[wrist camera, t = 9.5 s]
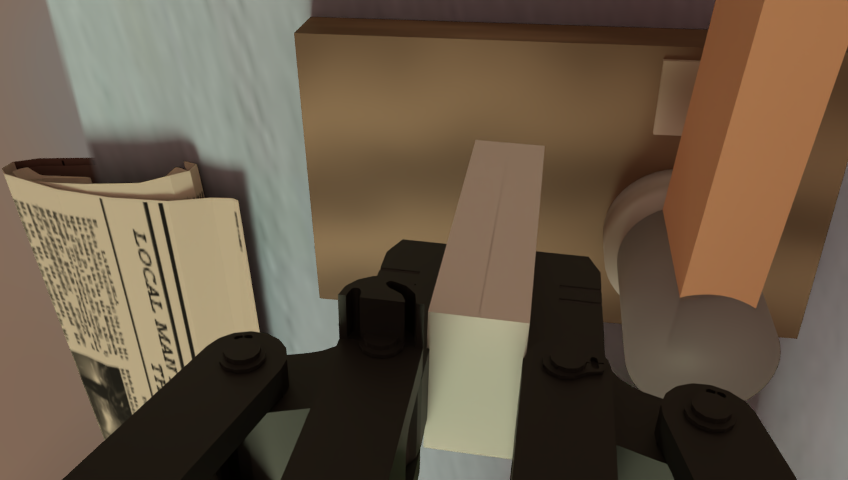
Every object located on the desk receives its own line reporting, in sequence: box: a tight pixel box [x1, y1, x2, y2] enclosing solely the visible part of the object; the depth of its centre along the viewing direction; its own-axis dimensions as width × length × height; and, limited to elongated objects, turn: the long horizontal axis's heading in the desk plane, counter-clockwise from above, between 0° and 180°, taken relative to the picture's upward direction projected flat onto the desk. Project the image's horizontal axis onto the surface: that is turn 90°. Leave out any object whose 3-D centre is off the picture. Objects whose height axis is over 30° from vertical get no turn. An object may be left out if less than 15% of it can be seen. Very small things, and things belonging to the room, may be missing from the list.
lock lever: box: [617, 0, 848, 401], centre depth 27 cm, size 5×14×6 cm, turn 176°
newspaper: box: [2, 158, 260, 440], centre depth 47 cm, size 35×12×4 cm, turn 4°
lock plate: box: [294, 17, 848, 339], centre depth 34 cm, size 13×22×4 cm, turn 90°
